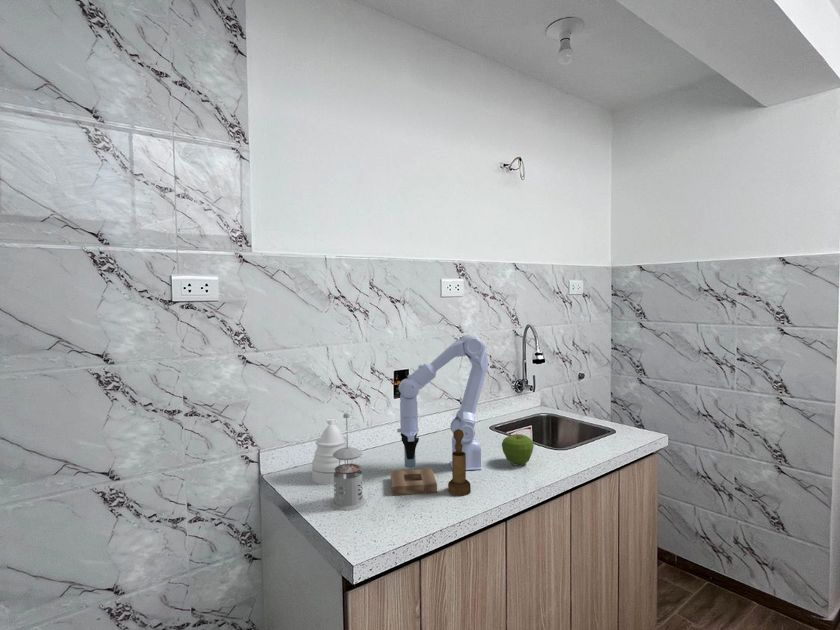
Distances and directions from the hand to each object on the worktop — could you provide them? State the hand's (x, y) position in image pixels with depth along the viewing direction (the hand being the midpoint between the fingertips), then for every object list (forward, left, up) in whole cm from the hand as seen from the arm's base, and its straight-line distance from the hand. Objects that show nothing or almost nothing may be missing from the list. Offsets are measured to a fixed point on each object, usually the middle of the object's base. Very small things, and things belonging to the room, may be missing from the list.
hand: (409, 456), depth 143 cm
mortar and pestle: (-13, +18, -5) cm, 23 cm away
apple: (-37, -1, -5) cm, 37 cm away
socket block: (0, +12, -5) cm, 13 cm away
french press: (+19, +20, -5) cm, 28 cm away
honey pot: (+25, +1, -5) cm, 26 cm away
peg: (0, 0, -3) cm, 3 cm away
